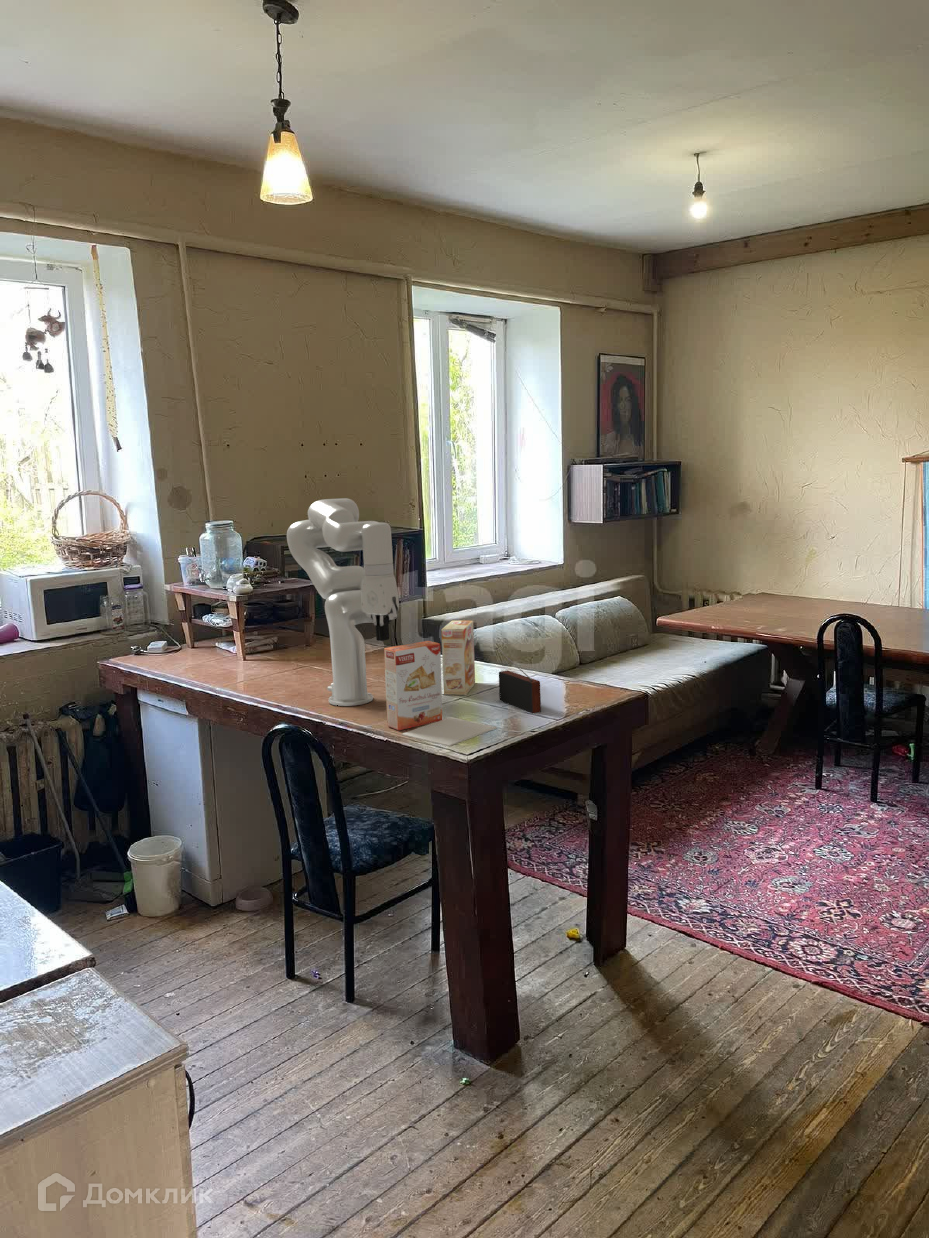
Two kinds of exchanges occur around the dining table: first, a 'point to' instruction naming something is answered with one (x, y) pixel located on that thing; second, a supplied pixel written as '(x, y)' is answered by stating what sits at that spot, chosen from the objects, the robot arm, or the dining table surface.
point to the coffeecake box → (458, 657)
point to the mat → (449, 731)
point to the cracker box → (413, 684)
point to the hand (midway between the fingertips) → (383, 639)
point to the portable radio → (519, 690)
